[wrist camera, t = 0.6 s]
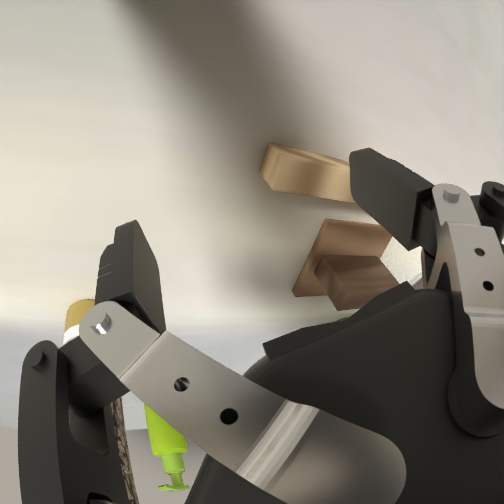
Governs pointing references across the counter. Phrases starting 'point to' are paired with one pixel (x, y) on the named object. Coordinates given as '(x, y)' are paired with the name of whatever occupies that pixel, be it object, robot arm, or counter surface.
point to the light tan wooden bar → (306, 173)
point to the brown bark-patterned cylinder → (71, 332)
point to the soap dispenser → (167, 448)
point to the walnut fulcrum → (346, 264)
